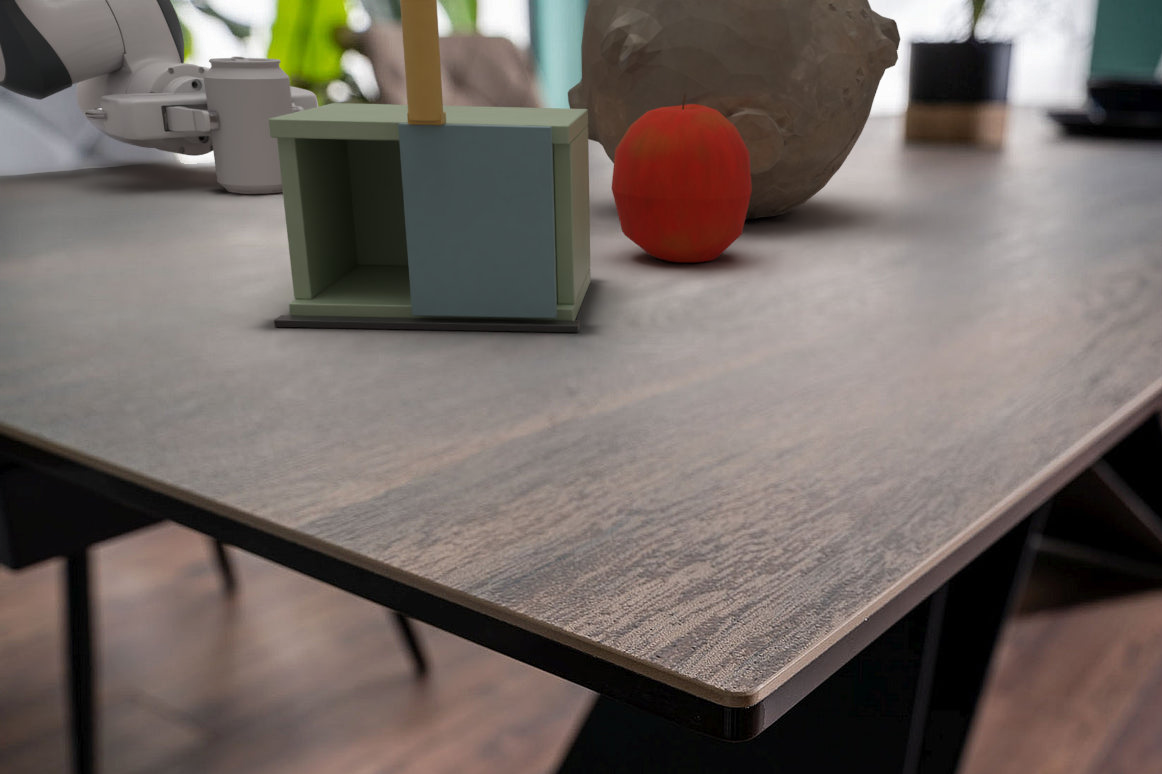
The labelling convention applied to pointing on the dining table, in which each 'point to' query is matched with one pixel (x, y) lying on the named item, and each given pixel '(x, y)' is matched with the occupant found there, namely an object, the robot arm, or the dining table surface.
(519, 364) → the dining table surface
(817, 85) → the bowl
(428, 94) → the door
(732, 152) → the apple
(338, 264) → the cabinet
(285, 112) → the can
